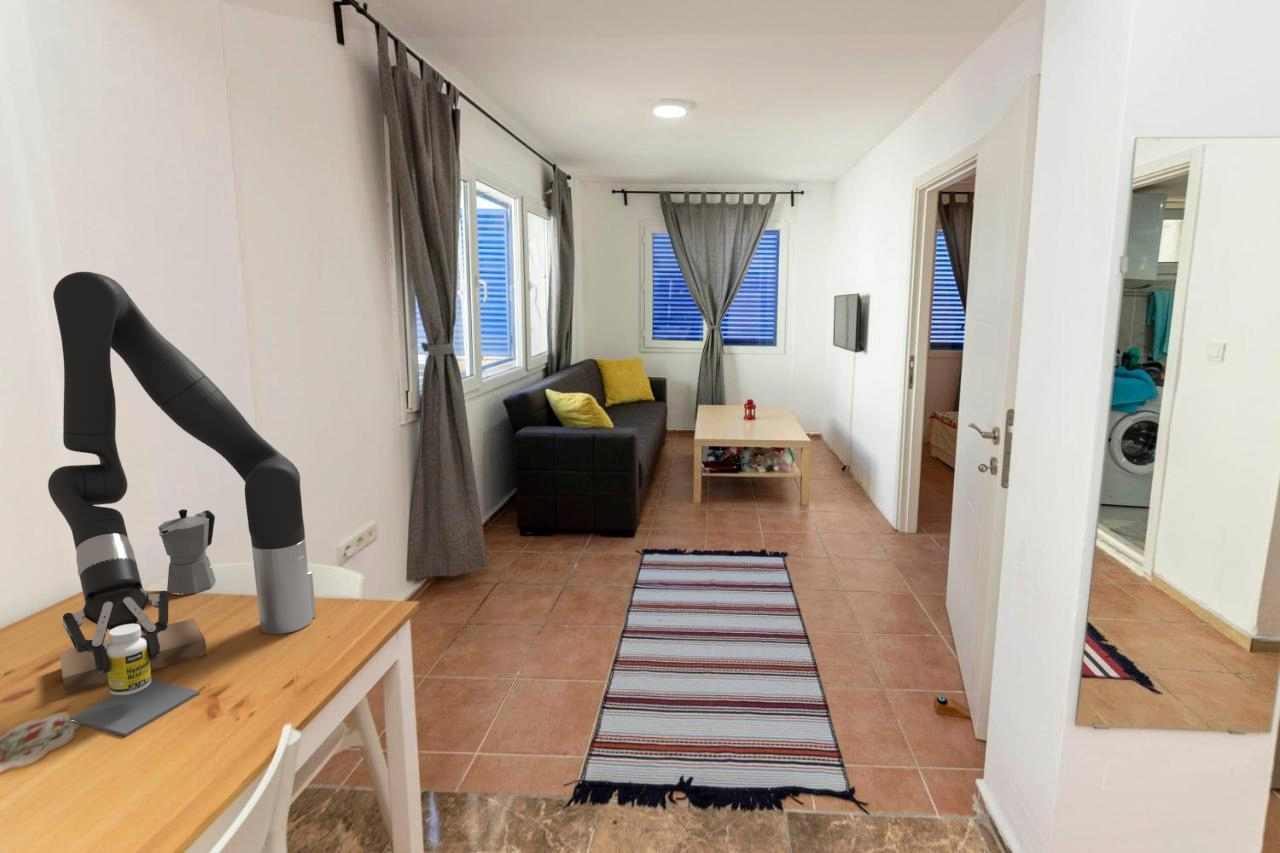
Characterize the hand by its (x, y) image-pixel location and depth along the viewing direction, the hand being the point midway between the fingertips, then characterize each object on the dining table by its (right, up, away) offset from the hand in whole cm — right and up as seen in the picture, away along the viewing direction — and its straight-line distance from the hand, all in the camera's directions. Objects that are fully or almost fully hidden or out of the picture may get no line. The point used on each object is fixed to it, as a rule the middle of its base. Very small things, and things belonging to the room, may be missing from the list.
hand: (130, 663), depth 108 cm
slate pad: (-1, -8, +3) cm, 8 cm away
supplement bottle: (-1, -5, +2) cm, 5 cm away
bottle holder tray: (-11, -5, +17) cm, 21 cm away
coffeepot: (-21, +1, +49) cm, 53 cm away
